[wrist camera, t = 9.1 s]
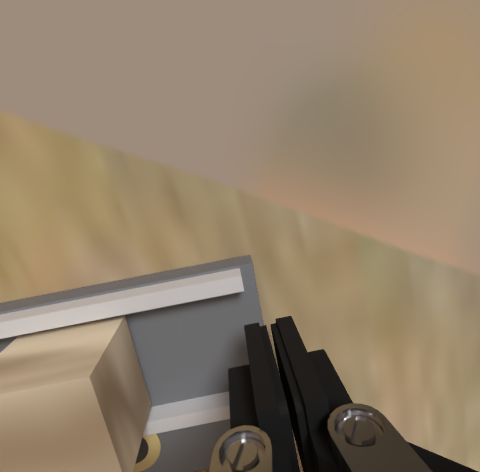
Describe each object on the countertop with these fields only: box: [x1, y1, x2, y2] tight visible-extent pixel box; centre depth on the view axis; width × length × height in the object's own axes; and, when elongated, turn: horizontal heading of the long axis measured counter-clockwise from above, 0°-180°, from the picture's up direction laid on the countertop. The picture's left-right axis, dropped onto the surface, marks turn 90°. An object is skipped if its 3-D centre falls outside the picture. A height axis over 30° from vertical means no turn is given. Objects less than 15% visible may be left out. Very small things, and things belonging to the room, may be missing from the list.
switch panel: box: [0, 255, 264, 472], centre depth 12 cm, size 9×15×4 cm, turn 100°
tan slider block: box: [0, 316, 151, 472], centre depth 11 cm, size 7×4×4 cm, turn 10°
